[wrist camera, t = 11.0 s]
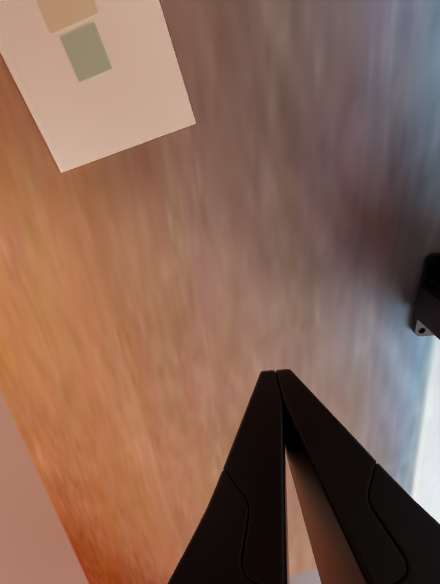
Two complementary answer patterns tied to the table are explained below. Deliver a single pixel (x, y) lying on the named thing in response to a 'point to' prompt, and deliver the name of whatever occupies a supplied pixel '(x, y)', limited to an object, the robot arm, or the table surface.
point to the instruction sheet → (94, 74)
